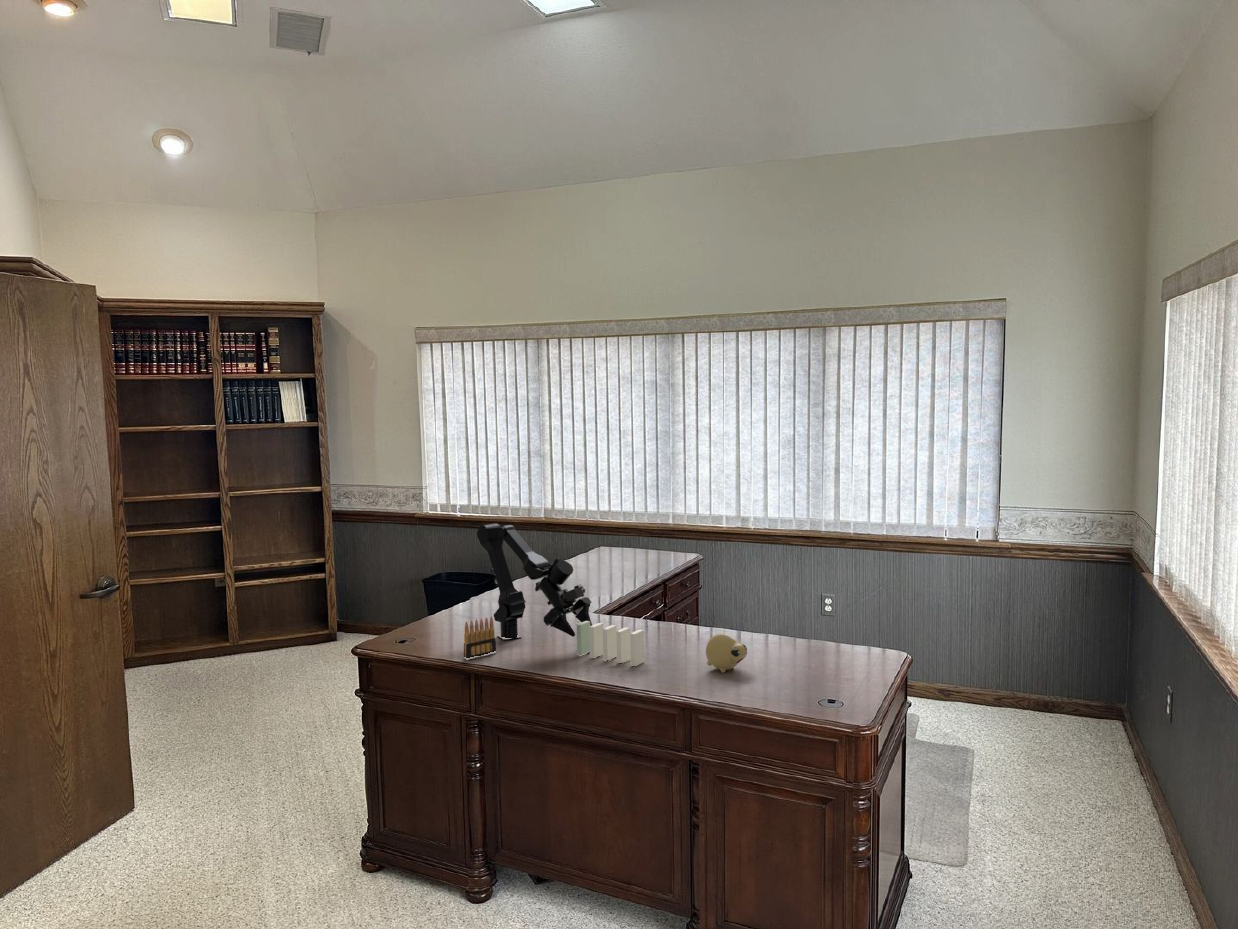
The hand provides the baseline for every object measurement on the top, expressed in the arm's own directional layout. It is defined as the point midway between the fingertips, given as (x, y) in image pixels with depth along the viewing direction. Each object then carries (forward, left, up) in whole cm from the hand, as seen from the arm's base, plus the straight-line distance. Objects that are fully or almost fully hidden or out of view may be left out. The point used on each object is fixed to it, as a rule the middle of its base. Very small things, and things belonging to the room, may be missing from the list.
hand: (583, 632), depth 271 cm
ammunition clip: (-16, -28, -7) cm, 33 cm away
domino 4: (+14, +6, -7) cm, 17 cm away
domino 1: (0, 0, -7) cm, 7 cm away
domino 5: (+18, +9, -7) cm, 21 cm away
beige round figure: (+38, +27, -7) cm, 47 cm away
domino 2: (+5, +2, -7) cm, 9 cm away
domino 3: (+9, +4, -7) cm, 12 cm away
